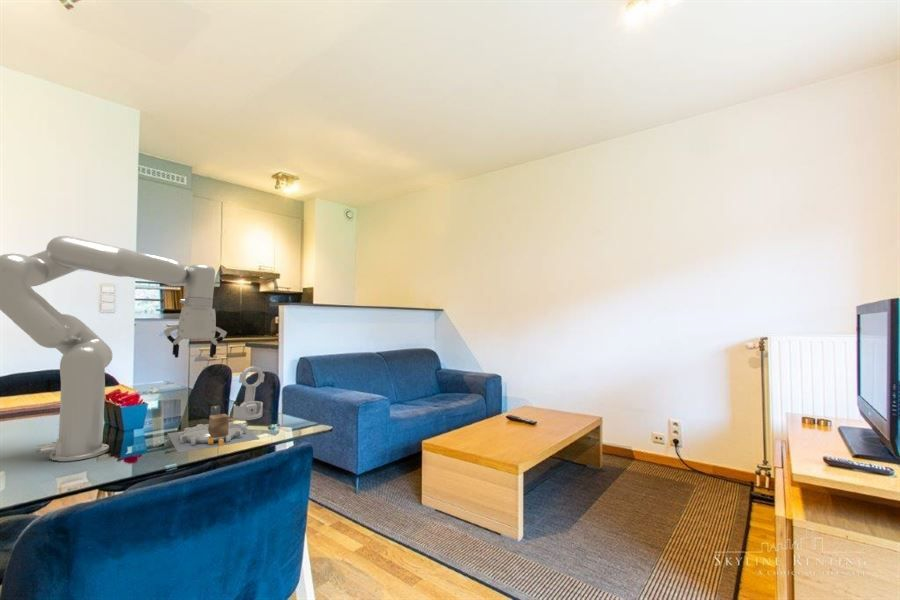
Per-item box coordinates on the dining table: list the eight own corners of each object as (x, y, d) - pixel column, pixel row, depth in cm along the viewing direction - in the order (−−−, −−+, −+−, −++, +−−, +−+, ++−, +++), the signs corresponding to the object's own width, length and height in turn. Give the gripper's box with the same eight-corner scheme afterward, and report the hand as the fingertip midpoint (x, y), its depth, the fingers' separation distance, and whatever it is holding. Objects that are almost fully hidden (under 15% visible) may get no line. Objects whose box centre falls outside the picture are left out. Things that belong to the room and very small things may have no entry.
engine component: (228, 421, 158) (241, 425, 152) (230, 366, 158) (243, 369, 152) (256, 415, 166) (269, 420, 160) (258, 364, 167) (271, 366, 161)
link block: (212, 437, 125) (212, 418, 126) (208, 434, 129) (209, 415, 129) (228, 434, 128) (228, 416, 128) (224, 431, 132) (225, 413, 132)
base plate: (177, 458, 118) (178, 447, 118) (166, 438, 135) (167, 428, 135) (259, 443, 132) (260, 433, 132) (240, 427, 150) (240, 418, 150)
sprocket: (167, 436, 131) (168, 411, 131) (227, 424, 147) (228, 401, 147) (195, 449, 120) (197, 421, 121) (257, 434, 136) (258, 409, 136)
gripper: (167, 301, 126) (162, 358, 125) (231, 305, 136) (226, 358, 135) (165, 301, 131) (160, 356, 131) (226, 305, 142) (222, 355, 141)
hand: (194, 357), depth 133 cm, fingers open, 9 cm apart
